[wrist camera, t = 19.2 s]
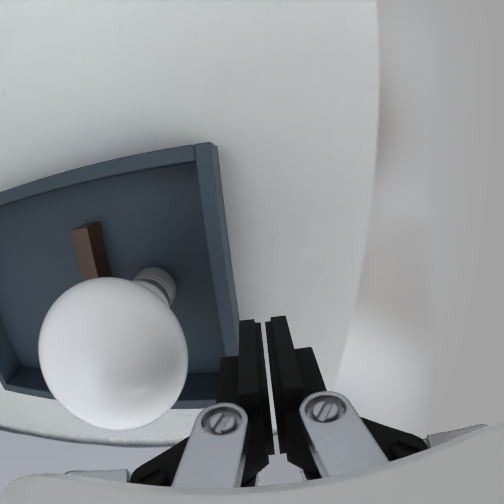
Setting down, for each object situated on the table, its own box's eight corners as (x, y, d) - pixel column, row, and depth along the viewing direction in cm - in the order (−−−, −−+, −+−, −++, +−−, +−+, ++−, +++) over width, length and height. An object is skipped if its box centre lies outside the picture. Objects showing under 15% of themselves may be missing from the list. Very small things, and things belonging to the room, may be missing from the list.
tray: (217, 145, 17) (210, 141, 14) (247, 373, 21) (247, 406, 18) (-30, 207, 17) (-57, 215, 14) (22, 369, 21) (4, 390, 18)
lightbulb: (153, 342, 20) (99, 470, 9) (94, 269, 18) (-12, 363, 8) (228, 296, 19) (214, 437, 8) (165, 212, 17) (67, 284, 7)
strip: (99, 220, 17) (86, 226, 16) (132, 346, 20) (124, 361, 18) (84, 223, 17) (70, 229, 16) (117, 346, 20) (109, 360, 18)
